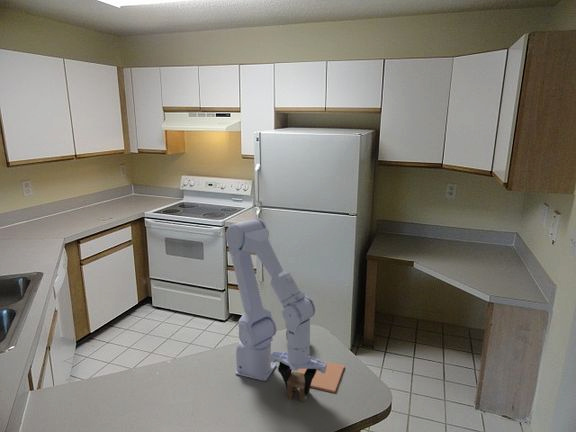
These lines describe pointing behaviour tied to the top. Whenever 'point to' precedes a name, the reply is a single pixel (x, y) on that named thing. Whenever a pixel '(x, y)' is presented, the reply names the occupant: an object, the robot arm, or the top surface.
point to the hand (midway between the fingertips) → (298, 390)
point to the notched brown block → (296, 385)
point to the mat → (326, 377)
